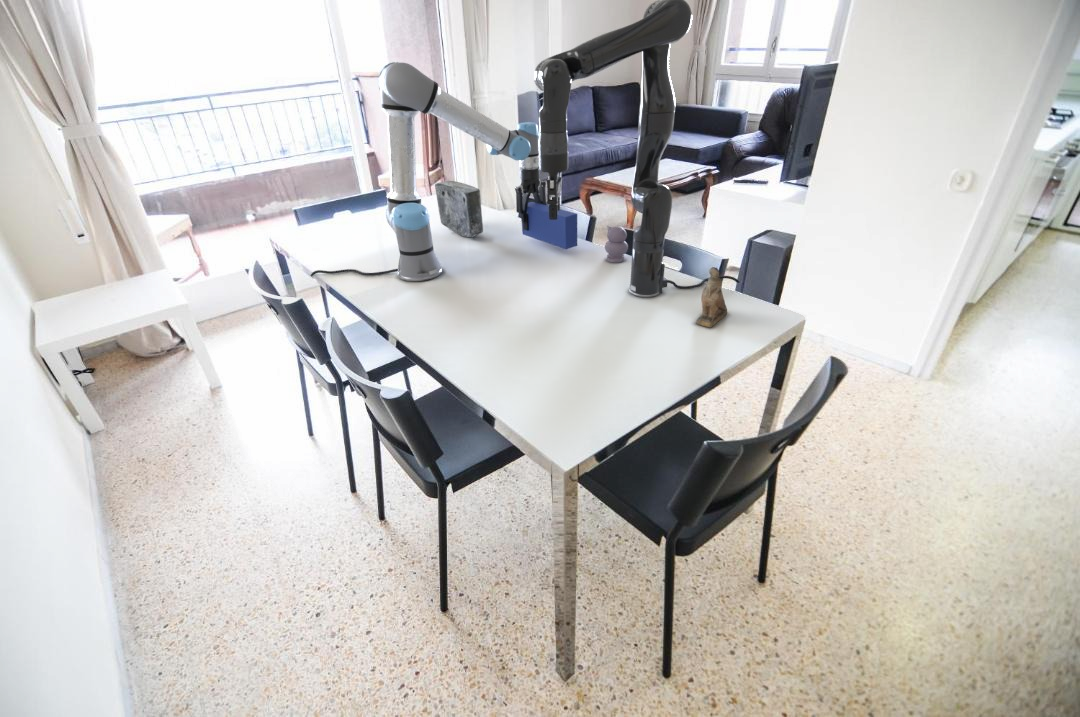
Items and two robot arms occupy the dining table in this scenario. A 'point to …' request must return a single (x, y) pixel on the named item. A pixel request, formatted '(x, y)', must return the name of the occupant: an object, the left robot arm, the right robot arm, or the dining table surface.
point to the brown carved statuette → (712, 301)
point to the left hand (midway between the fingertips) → (532, 227)
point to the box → (551, 226)
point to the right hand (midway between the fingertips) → (554, 214)
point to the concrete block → (460, 207)
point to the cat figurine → (616, 244)
